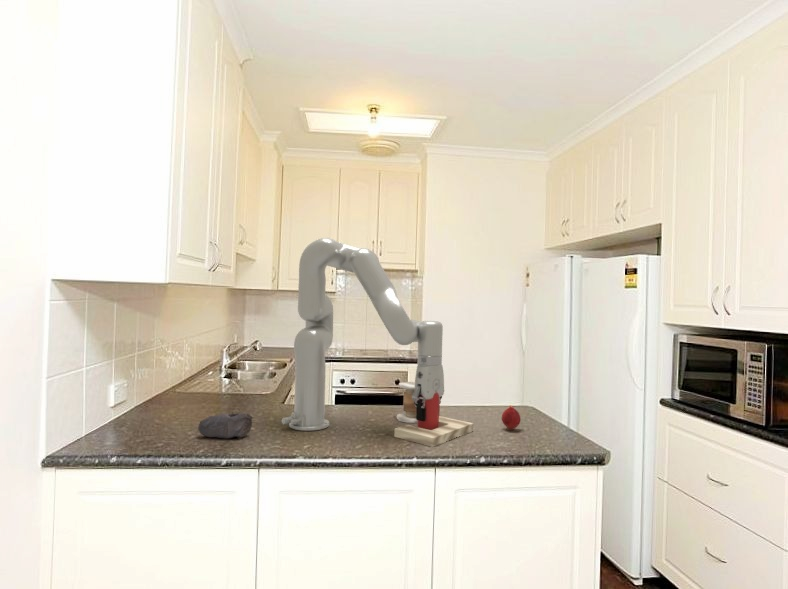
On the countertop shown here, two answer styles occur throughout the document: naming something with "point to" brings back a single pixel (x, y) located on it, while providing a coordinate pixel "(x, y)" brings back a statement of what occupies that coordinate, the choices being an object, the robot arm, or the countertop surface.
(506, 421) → the onion
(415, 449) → the countertop surface
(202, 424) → the perforated stone tool
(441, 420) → the notched board
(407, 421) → the bobbin
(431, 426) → the beer can
